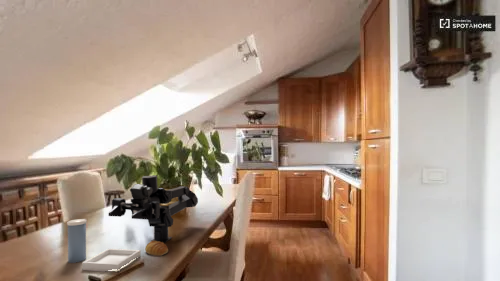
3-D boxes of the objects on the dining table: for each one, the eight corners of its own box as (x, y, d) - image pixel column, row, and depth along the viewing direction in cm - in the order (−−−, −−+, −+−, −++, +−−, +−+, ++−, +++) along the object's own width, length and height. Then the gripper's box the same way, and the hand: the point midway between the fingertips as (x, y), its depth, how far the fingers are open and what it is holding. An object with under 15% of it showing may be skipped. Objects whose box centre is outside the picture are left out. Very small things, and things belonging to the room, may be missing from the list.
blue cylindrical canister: (76, 256, 106) (76, 218, 107) (90, 257, 105) (90, 219, 105) (63, 262, 100) (62, 222, 101) (78, 263, 99) (77, 223, 100)
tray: (108, 255, 107) (108, 248, 107) (140, 256, 104) (140, 250, 104) (82, 269, 94) (82, 262, 94) (117, 272, 91) (117, 264, 91)
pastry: (173, 252, 108) (172, 242, 108) (157, 258, 103) (157, 248, 103) (158, 247, 114) (158, 238, 114) (142, 253, 109) (142, 243, 109)
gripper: (126, 181, 115) (96, 190, 100) (168, 184, 111) (144, 194, 96) (126, 208, 116) (97, 221, 101) (168, 212, 112) (144, 227, 97)
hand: (120, 215), depth 99 cm, fingers open, 9 cm apart
